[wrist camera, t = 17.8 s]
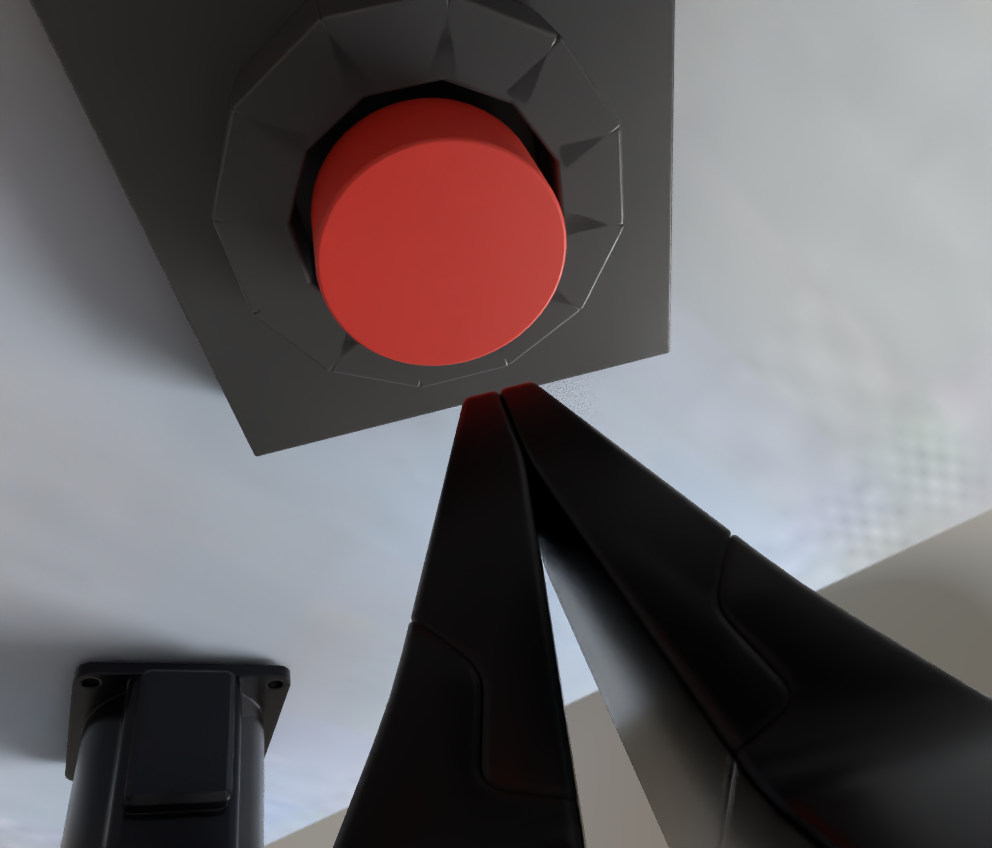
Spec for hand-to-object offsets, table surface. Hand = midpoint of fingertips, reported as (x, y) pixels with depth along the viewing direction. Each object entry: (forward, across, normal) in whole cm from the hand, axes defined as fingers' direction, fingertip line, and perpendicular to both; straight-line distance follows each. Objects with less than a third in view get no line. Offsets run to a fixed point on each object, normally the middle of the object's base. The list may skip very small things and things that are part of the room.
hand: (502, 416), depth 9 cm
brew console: (+9, 0, 0) cm, 9 cm away
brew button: (+6, 0, 0) cm, 6 cm away
